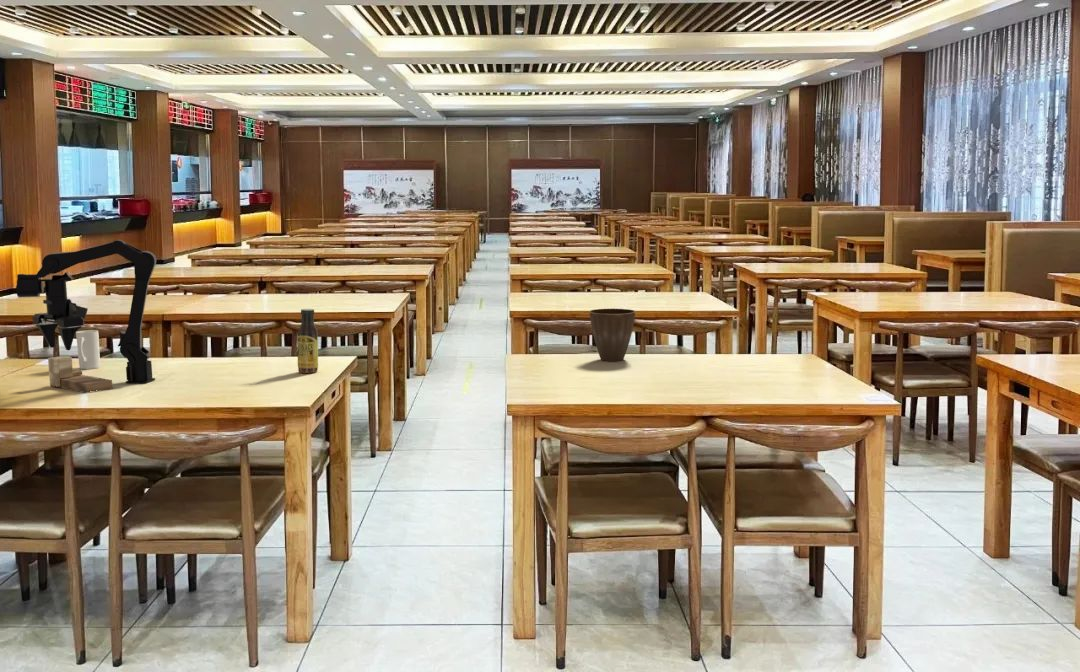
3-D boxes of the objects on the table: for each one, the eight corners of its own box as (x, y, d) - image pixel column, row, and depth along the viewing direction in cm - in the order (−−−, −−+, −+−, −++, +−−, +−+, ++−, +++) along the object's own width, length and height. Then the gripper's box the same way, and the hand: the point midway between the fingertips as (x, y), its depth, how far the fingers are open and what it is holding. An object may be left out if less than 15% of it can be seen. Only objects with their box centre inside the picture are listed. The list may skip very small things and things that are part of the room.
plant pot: (636, 356, 362) (636, 308, 360) (634, 363, 347) (633, 313, 345) (592, 355, 364) (591, 308, 362) (587, 363, 349) (587, 313, 347)
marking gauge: (85, 382, 326) (83, 355, 324) (57, 386, 319) (54, 359, 318) (78, 380, 328) (76, 354, 327) (50, 385, 321) (47, 358, 320)
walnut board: (112, 388, 318) (111, 379, 317) (86, 392, 311) (86, 383, 311) (76, 381, 330) (75, 373, 329) (50, 385, 324) (50, 377, 323)
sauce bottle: (294, 373, 338) (291, 310, 335) (303, 370, 344) (300, 307, 341) (314, 374, 336) (311, 310, 334) (322, 370, 342) (320, 308, 340)
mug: (83, 366, 359) (81, 330, 357) (104, 365, 359) (101, 329, 357) (70, 371, 349) (68, 334, 347) (91, 371, 349) (89, 334, 347)
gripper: (99, 295, 319) (102, 348, 321) (66, 292, 331) (69, 343, 333) (62, 298, 311) (66, 352, 313) (30, 295, 322) (34, 347, 324)
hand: (60, 348), depth 321 cm, fingers open, 9 cm apart
